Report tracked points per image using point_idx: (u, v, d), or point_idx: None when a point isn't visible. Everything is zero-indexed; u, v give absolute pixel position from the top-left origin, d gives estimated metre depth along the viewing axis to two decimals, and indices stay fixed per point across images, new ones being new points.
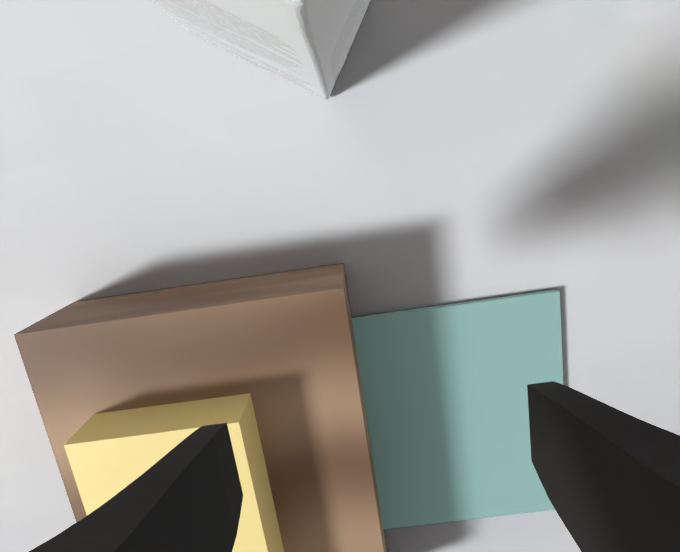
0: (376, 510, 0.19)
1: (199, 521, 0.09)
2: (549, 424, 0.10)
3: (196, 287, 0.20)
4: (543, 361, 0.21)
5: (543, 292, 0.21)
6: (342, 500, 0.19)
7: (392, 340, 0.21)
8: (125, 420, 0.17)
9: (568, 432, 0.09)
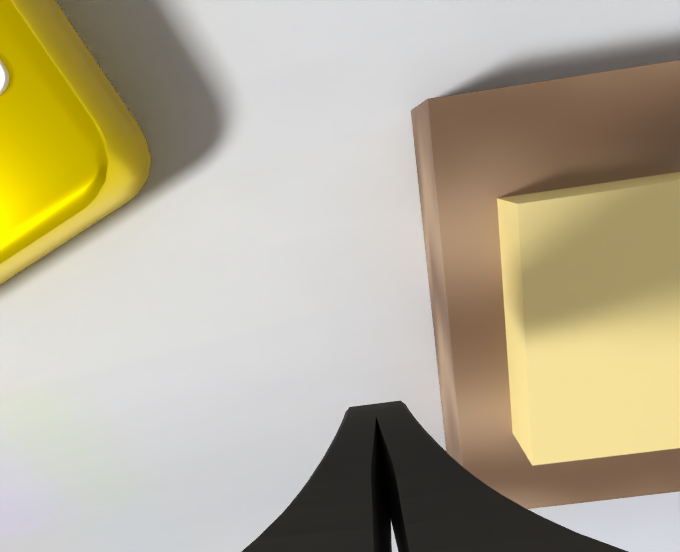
0: None
1: (381, 500, 0.09)
2: (381, 445, 0.10)
3: None
4: None
5: None
6: None
7: None
8: (555, 193, 0.15)
9: (385, 455, 0.09)
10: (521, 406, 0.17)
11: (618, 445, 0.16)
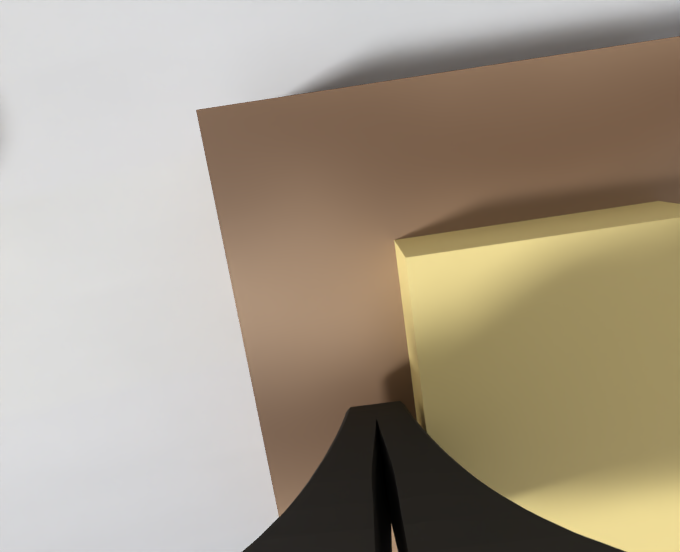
0: None
1: (381, 500, 0.09)
2: (381, 445, 0.10)
3: None
4: None
5: None
6: None
7: None
8: (473, 235, 0.10)
9: (384, 455, 0.09)
10: None
11: None
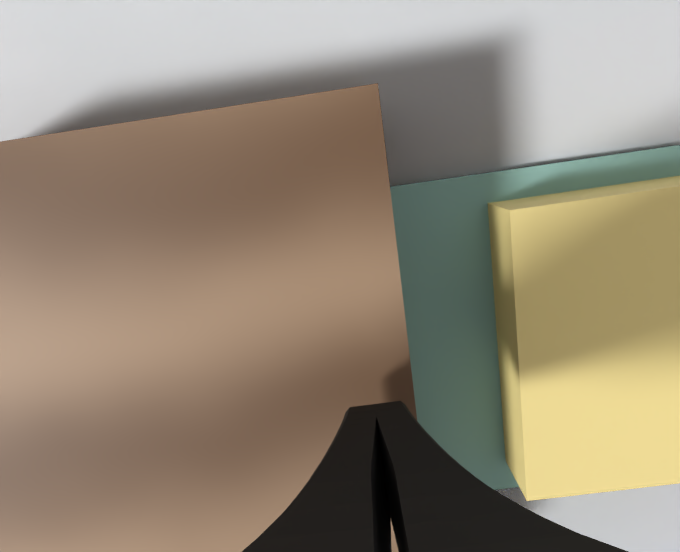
0: None
1: (381, 500, 0.09)
2: (381, 445, 0.10)
3: None
4: None
5: (658, 149, 0.14)
6: None
7: (437, 221, 0.15)
8: (659, 183, 0.13)
9: (385, 454, 0.09)
10: None
11: None
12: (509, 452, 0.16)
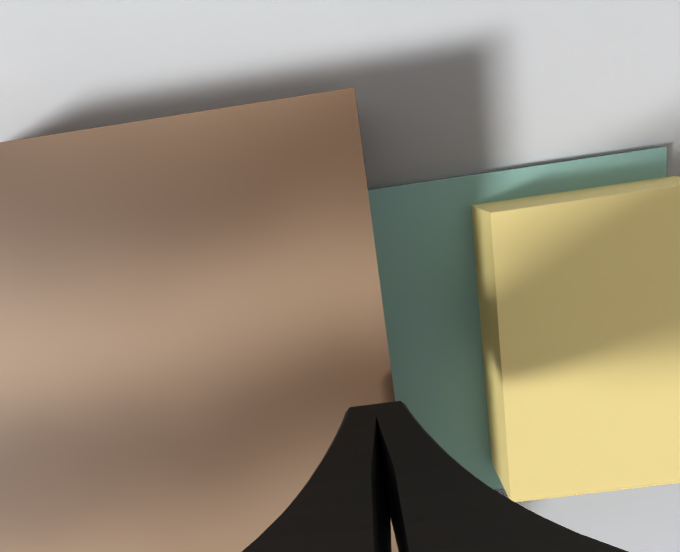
0: None
1: (381, 500, 0.09)
2: (381, 445, 0.10)
3: None
4: None
5: (641, 151, 0.14)
6: None
7: (421, 223, 0.15)
8: (640, 186, 0.13)
9: (385, 454, 0.09)
10: None
11: None
12: (494, 454, 0.16)
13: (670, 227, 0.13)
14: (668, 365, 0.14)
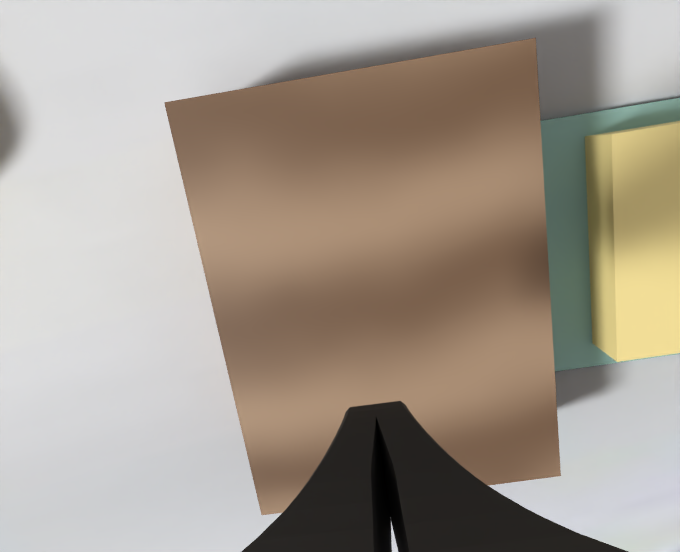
0: (549, 315, 0.17)
1: (381, 500, 0.09)
2: (381, 445, 0.10)
3: None
4: None
5: None
6: (513, 302, 0.17)
7: (546, 151, 0.19)
8: None
9: (385, 455, 0.09)
10: None
11: None
12: (597, 332, 0.21)
13: None
14: None
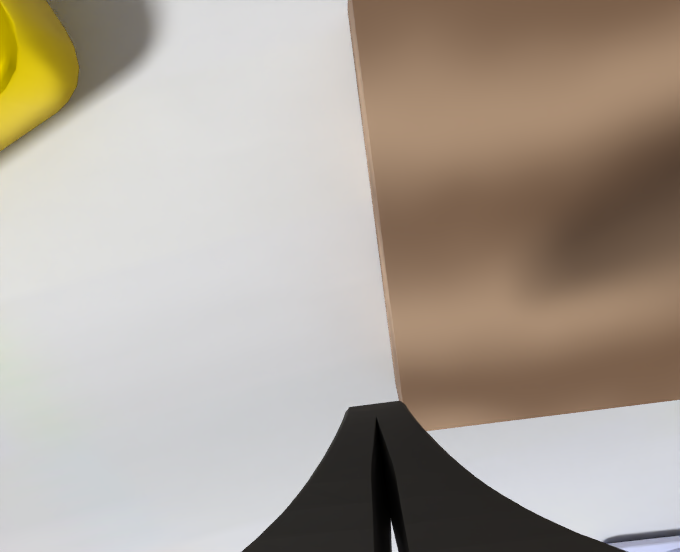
0: None
1: (381, 500, 0.09)
2: (381, 445, 0.10)
3: None
4: None
5: None
6: None
7: None
8: None
9: (385, 454, 0.09)
10: None
11: None
12: None
13: None
14: None
